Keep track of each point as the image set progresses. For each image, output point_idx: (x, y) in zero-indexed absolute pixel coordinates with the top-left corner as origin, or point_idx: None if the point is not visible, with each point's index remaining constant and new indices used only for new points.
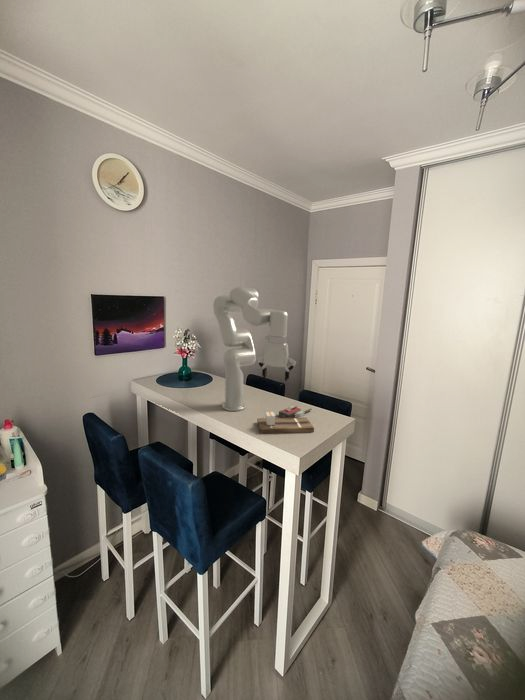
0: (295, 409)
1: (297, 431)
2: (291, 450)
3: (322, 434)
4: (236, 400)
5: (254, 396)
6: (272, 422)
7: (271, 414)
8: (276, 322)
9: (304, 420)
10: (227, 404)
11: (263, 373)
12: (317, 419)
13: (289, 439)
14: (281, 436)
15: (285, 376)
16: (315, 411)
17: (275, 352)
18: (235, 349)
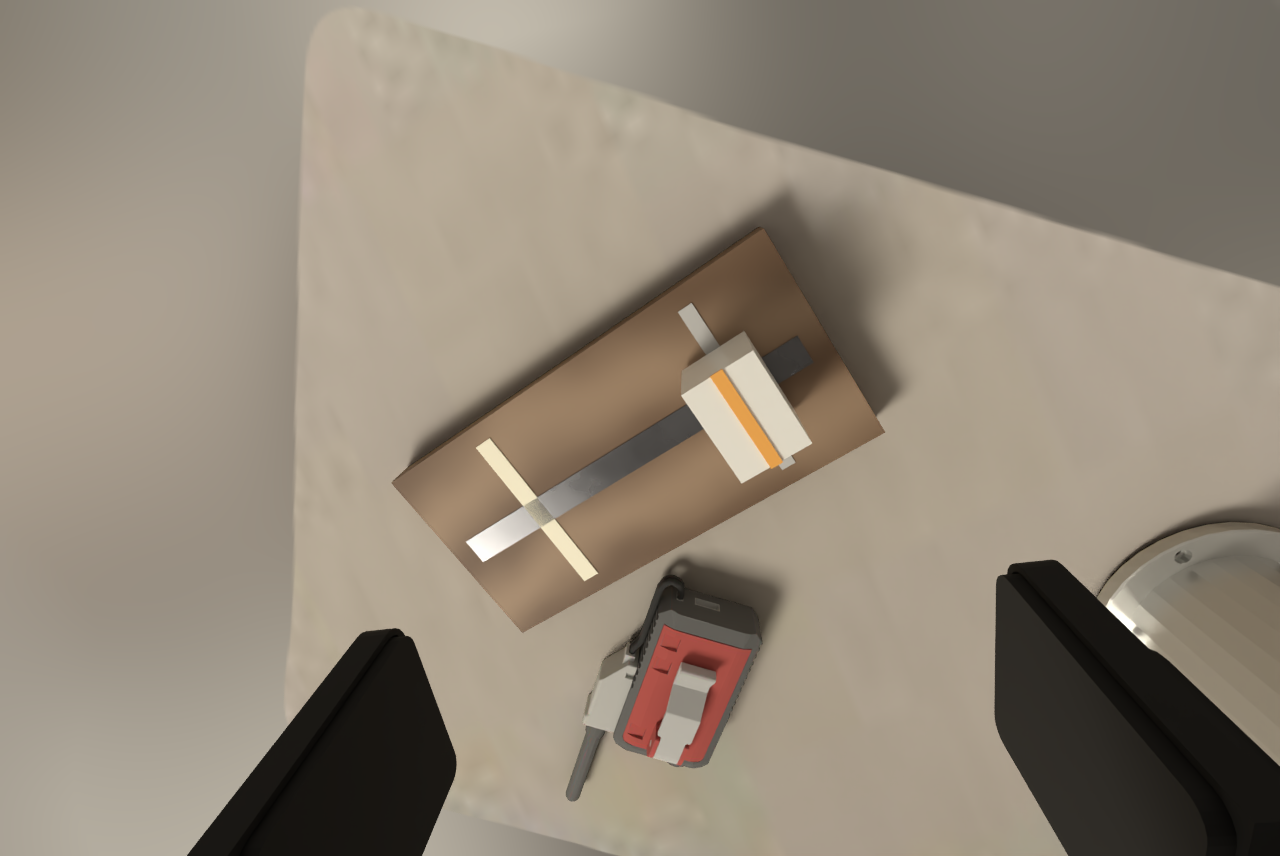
0: (648, 719)
1: (500, 404)
2: (403, 66)
3: (340, 461)
4: (1232, 626)
5: None
6: (701, 363)
7: (731, 413)
8: None
9: (511, 575)
10: None
11: (1152, 659)
12: (476, 674)
13: (503, 253)
14: (581, 271)
15: (325, 711)
16: (543, 787)
17: None
18: None
